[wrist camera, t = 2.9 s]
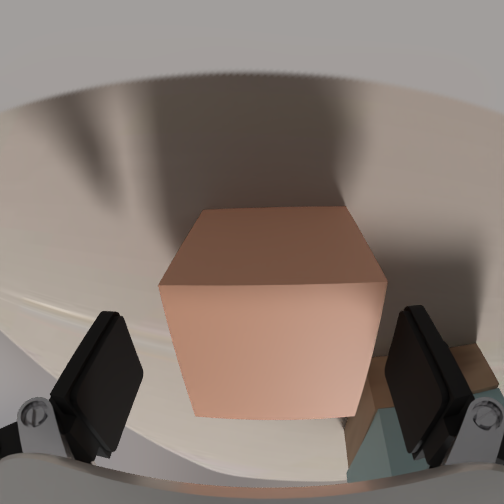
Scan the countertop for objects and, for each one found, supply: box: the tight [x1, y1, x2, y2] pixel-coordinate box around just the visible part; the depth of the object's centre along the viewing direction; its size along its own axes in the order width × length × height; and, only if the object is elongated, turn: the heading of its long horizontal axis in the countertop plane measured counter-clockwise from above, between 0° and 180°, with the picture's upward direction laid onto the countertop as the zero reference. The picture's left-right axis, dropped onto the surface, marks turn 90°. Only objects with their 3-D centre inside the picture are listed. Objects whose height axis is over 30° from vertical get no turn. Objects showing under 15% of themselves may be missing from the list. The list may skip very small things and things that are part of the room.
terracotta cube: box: [158, 206, 388, 420], centre depth 12 cm, size 6×6×6 cm
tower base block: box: [344, 343, 499, 468], centre depth 17 cm, size 8×8×4 cm
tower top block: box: [347, 388, 504, 483], centre depth 13 cm, size 8×8×4 cm
